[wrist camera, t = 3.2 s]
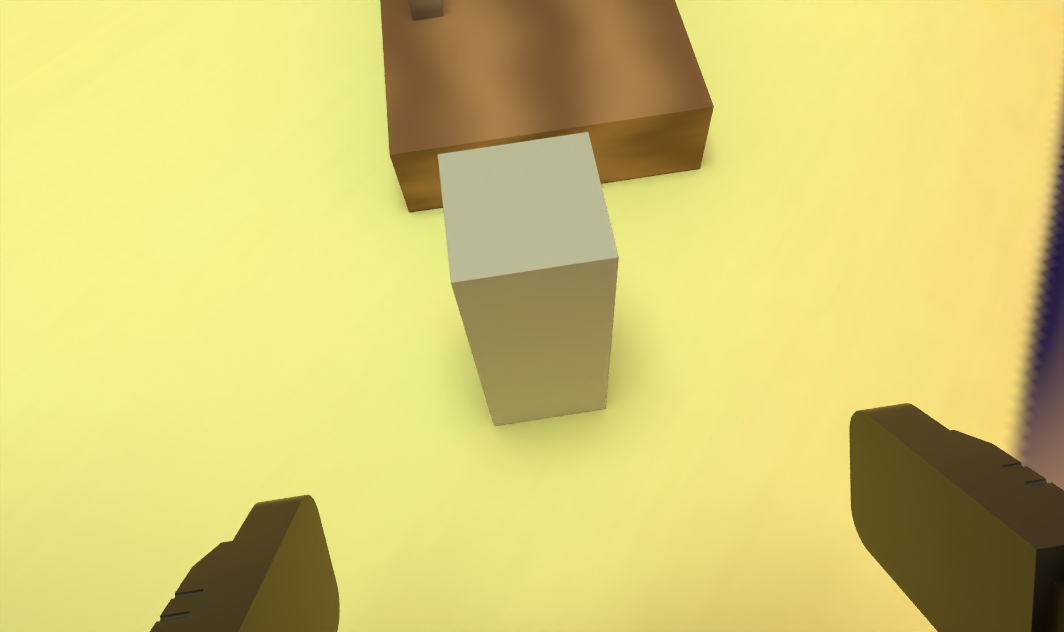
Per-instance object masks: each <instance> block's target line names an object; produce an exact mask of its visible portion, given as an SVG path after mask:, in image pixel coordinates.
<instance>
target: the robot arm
mask: <svg viewBox="0 0 1064 632" xmlns="http://www.w3.org/2000/svg"><path fill="white" fill-rule="evenodd" d="M850 481H851V510H852V516H853V520H854V524H855V527H856V530H857V532H858V535H859V537H860V539H861V541H862V543H863V544H864V546H865V547H866V549H867V550H868V551H869V552H870V554H871V555H872V556H873V557H874V558H875V559H876V560H877V562H878V563H879V564H880V565H881V566H882V567H883V569H884V570H885V571H886V572H887V573H888V574H889V576H890V577H891V578H892V579H893V580H894V581H895V582H896V584H897V585H898V586H899V587H900V588H901V589H902V591H903V592H904V593H905V594H906V595H907V596H908V597H909V599H910V600H911V601H912V602H913V603H914V604H915V606H916V607H917V608H918V609H919V610H920V611H921V613H922V614H923V615H924V616H925V617H926V618H927V619H928V621H929V622H930V623H931V624H932V625H933V626H934V628H935V629H936V630H937V631H938V632H1064V491H1063V490H1062V489H1061V488H1059V487H1057V486H1056V485H1054V484H1053V483H1047V482H1046V479H1045V478H1044V477H1042V476H1041V475H1039V474H1038V473H1036V472H1035V471H1033V470H1032V469H1030V468H1029V467H1022V465H1021V462H1019V461H1018V460H1016V459H1015V458H1013V457H1012V456H1010V455H1009V454H1007V453H1006V452H1004V451H1003V450H1001V449H1000V448H998V447H997V446H995V445H994V444H992V443H989V442H986V441H983V440H981V439H978V438H975V437H972V436H969V435H967V434H964V433H961V432H958V431H956V430H949V429H947V428H946V427H944V426H943V425H941V424H940V423H938V422H937V421H936V420H934V419H933V418H931V417H930V416H928V415H927V414H925V413H924V412H922V411H921V410H920V409H918V408H917V407H915V406H914V405H912V404H908V403H905V404H899V405H892V406H886V407H879V408H873V409H866V410H860V411H856V412H855V413H854V414H853V415H852V417H851V421H850ZM339 612H340V610H339V593H338V587H337V583H336V579H335V575H334V571H333V567H332V563H331V559H330V555H329V551H328V547H327V543H326V539H325V535H324V531H323V527H322V524H321V520H320V516H319V512H318V508H317V506H316V503H315V501H314V499H313V498H312V497H311V496H310V495H304V496H297V497H291V498H284V499H278V500H272V501H265V502H259V503H256V504H255V505H254V507H253V508H252V510H251V511H250V513H249V515H248V516H247V518H246V520H245V521H244V523H243V525H242V526H241V528H240V530H239V531H238V533H237V535H236V536H235V538H234V540H233V541H229V542H223V543H220V544H219V545H218V546H217V547H216V548H214V549H213V550H212V551H211V552H210V553H208V554H207V555H206V556H205V557H204V558H203V559H201V560H200V561H199V562H198V563H197V564H195V565H194V566H193V567H192V568H191V570H190V571H189V573H188V574H187V576H186V577H185V579H184V580H183V582H182V583H181V585H180V586H179V588H178V590H177V591H176V593H175V598H174V599H171V600H170V602H169V603H168V605H167V606H166V608H165V609H164V611H163V612H162V614H161V615H160V621H158V622H156V623H155V625H154V626H153V628H152V629H151V631H150V632H337V630H338V625H339Z"/></svg>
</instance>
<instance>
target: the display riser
mask: <svg viewBox="0 0 1064 632" xmlns="http://www.w3.org/2000/svg"><path fill="white" fill-rule="evenodd" d="M380 2H381V18H382V35H383V51H384V68H385V84H386V101H387V118H388V134H389V151H390V157H391V160H392V163H393V166H394V169H395V172H396V175H397V178H398V181H399V183H400V186H401V189H402V192H403V195H404V198H405V201H406V204H407V207H408V210H409V212H413V211H420V210H426V209H433V208H440V207H443V200H442V191H441V181H440V171H439V161H438V154H444V153H451V152H457V151H464V150H471V149H477V148H484V147H491V146H497V145H504V144H511V143H517V142H524V141H531V140H538V139H544V138H551V137H558V136H564V135H571V134H578V133H584V132H588V133H589V137H590V141H591V145H592V150H593V154H594V158H595V162H596V166H597V170H598V174H599V178H600V183H606V182H612V181H619V180H625V179H632V178H639V177H645V176H652V175H659V174H665V173H672V172H679V171H685V170H692V169H698V168H700V166H701V161H702V157H703V152H704V148H705V143H706V139H707V134H708V130H709V125H710V121H711V116H712V112H713V107H714V106H713V103H712V101H711V98H710V95H709V93H708V90H707V87H706V84H705V82H704V79H703V76H702V73H701V71H700V68H699V65H698V62H697V60H696V57H695V54H694V51H693V49H692V46H691V43H690V41H689V38H688V35H687V32H686V30H685V27H684V24H683V21H682V19H681V16H680V13H679V10H678V8H677V5H676V2H675V0H380Z"/></svg>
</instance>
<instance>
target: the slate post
mask: <svg viewBox="0 0 1064 632" xmlns="http://www.w3.org/2000/svg"><path fill="white" fill-rule="evenodd" d="M438 161H439V171H440V181H441V191H442V200H443V210H444V220H445V229H446V239H447V249H448V258H449V268H450V278H451V284H452V288H453V291H454V294H455V298H456V301H457V304H458V308H459V311H460V314H461V317H462V321H463V324H464V327H465V331H466V334H467V337H468V341H469V344H470V347H471V351H472V354H473V357H474V360H475V364H476V367H477V370H478V374H479V377H480V380H481V384H482V387H483V390H484V394H485V397H486V400H487V403H488V407H489V410H490V413H491V417H492V420H493V423H494V426H498V425H504V424H510V423H517V422H523V421H530V420H536V419H542V418H549V417H555V416H561V415H568V414H574V413H581V412H587V411H593V410H600V409H605V408H606V397H607V385H608V374H609V362H610V351H611V339H612V327H613V316H614V304H615V293H616V281H617V270H618V258H619V257H618V253H617V249H616V245H615V240H614V236H613V232H612V228H611V224H610V220H609V216H608V211H607V207H606V203H605V199H604V195H603V191H602V187H601V183H600V178H599V174H598V170H597V166H596V162H595V158H594V154H593V150H592V145H591V141H590V137H589V133H588V132H584V133H578V134H571V135H564V136H558V137H551V138H544V139H538V140H531V141H524V142H517V143H511V144H504V145H497V146H491V147H484V148H477V149H471V150H464V151H457V152H451V153H444V154H438Z"/></svg>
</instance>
